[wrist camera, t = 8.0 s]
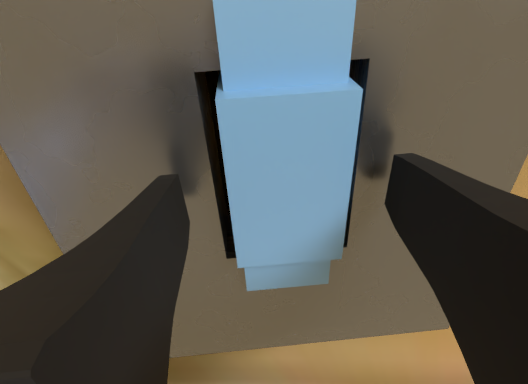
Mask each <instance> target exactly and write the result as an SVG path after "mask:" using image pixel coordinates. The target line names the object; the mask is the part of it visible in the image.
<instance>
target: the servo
mask: <svg viewBox="0 0 528 384" xmlns="http://www.w3.org/2000/svg"><path fill="white" fill-rule="evenodd" d="M213 8H214V17H215V25H216V33H217V42H218V50H219V59H220V67H221V70H220V71H219V77H218V84H217V91H216V97H215V103H216V110H217V118H218V125H219V132H220V140H221V147H222V155H223V162H224V169H225V177H226V184H227V192H228V199H229V207H230V214H231V221H232V229H233V236H234V244H235V251H236V258H237V266H238V268H244V270H245V278H246V287H247V291H255V290H266V289H277V288H287V287H298V286H309V285H319V284H328V282H329V272H330V262H331V260H335V259H342V253H343V245H344V237H345V229H346V221H347V213H348V205H349V197H350V189H351V181H352V173H353V166H354V158H355V150H356V142H357V134H358V126H359V118H360V110H361V102H362V94H363V89H362V88H361V87H360V86H359V85H358V84H357V83H356V82H355V81H353V80H352V79H351V78H350V77H349V70H350V60H351V50H352V40H353V30H354V20H355V10H356V0H213Z"/></svg>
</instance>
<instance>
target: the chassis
mask: <svg viewBox="0 0 528 384" xmlns="http://www.w3.org/2000/svg"><path fill="white" fill-rule="evenodd" d="M216 70H221V67H220V59H219V50H218V42H217V33H216V25H215V17H214V8H213V0H0V145H1V146H2V148H3V150H4V152H5V153H6V155H7V157H8V159H9V160H10V162H11V164H12V166H13V167H14V169H15V171H16V173H17V174H18V176H19V178H20V180H21V181H22V183H23V185H24V186H25V188H26V190H27V192H28V193H29V195H30V197H31V199H32V200H33V202H34V204H35V206H36V207H37V209H38V211H39V213H40V214H41V216H42V218H43V220H44V221H45V223H46V225H47V227H48V228H49V230H50V232H51V234H52V235H53V237H54V239H55V241H56V242H57V244H58V246H59V248H60V249H61V251H62V253H63V254H65V253H67V252H68V251H70V250H71V249H73V248H74V247H76V246H77V245H78V244H80V243H81V242H83V241H84V240H86V239H87V238H88V237H90V236H91V235H92V234H94V233H95V232H96V231H98V230H99V229H100V228H101V227H103V226H104V225H105V224H106V223H107V222H108V221H110V220H111V219H112V218H113V217H114V216H116V215H117V214H118V213H119V212H120V211H122V210H123V209H124V208H125V207H126V206H127V205H128V204H129V203H130V202H131V201H132V200H134V199H135V198H136V197H137V196H138V195H139V194H140V193H141V192H142V191H143V190H144V189H145V188H146V187H147V186H148V185H149V184H150V183H151V182H153V181H154V180H155V179H156V178H157V177H158V176H160V175H169V174H178V175H179V179H180V183H181V187H182V191H183V195H184V199H185V203H186V207H187V212H188V216H189V220H190V230H189V244H188V251H187V256H186V260H185V265H184V270H183V274H182V279H181V283H180V288H179V293H178V297H177V302H176V306H175V312H174V318H173V327H172V336H171V345H170V355H169V358H174V357H183V356H193V355H202V354H212V353H221V352H231V351H240V350H250V349H259V348H269V347H278V346H288V345H297V344H307V343H317V342H326V341H336V340H345V339H355V338H364V337H374V336H383V335H393V334H402V333H412V332H421V331H431V330H440V329H448V328H449V326H450V324H449V322H448V320H447V318H446V316H445V314H444V312H443V310H442V308H441V305H440V303H439V301H438V299H437V297H436V295H435V293H434V291H433V290H432V288H431V286H430V284H429V282H428V281H427V279H426V277H425V276H424V274H423V273H422V271H421V270H420V268H419V266H418V265H417V263H416V262H415V260H414V258H413V257H412V255H411V254H410V252H409V250H408V249H407V247H406V246H405V244H404V242H403V241H402V239H401V238H400V236H399V234H398V233H397V231H396V229H395V228H394V225H393V223H392V221H391V219H390V216H389V214H388V211H387V209H386V207H385V204H384V203H385V198H386V193H387V188H388V182H389V177H390V172H391V167H392V161H393V156H394V154H406V153H414V154H417V155H420V156H422V157H425V158H427V159H430V160H432V161H435V162H437V163H439V164H441V165H444V166H446V167H448V168H451V169H453V170H455V171H457V172H460V173H462V174H464V175H466V176H469V177H471V178H473V179H476V180H478V181H481V182H483V183H485V184H488V185H490V186H493V187H496V188H498V189H501V190H503V191H506V192H508V193H510V192H511V190H512V187H513V185H514V183H515V181H516V179H517V176H518V174H519V172H520V170H521V168H522V165H523V163H524V161H525V159H526V157H527V154H528V0H356V10H355V20H354V30H353V40H352V50H351V60H350V70H349V77H350V78H351V79H352V80H353V81H355V82H356V83H357V84H358V85H359V86H360V87H361V88H362V89H363V94H362V102H361V110H360V118H359V126H358V134H357V142H356V150H355V158H354V166H353V173H352V181H351V189H350V197H349V205H348V213H347V221H346V229H345V237H344V245H343V253H342V259H335V260H331V262H330V272H329V282H328V284H319V285H309V286H298V287H287V288H277V289H266V290H255V291H247V287H246V278H245V270H244V268H238V266H237V258H236V251H235V244H234V236H233V229H232V221H231V215H228V214H227V207H226V201H225V194H224V188H223V182H222V175H221V169H220V162H219V156H218V149H217V143H216V136H215V130H214V123H213V117H212V111H211V104H210V98H209V91H208V85H207V78H206V72H205V71H216Z"/></svg>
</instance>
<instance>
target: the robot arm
mask: <svg viewBox="0 0 528 384" xmlns="http://www.w3.org/2000/svg"><path fill="white" fill-rule="evenodd" d="M384 204H385V207H386V209H387V211H388V214H389V216H390V219H391V221H392V223H393V225H394V228H395V229H396V231H397V233H398V234H399V236H400V238H401V239H402V241H403V242H404V244H405V246H406V247H407V249H408V250H409V252H410V254H411V255H412V257H413V258H414V260H415V262H416V263H417V265H418V266H419V268H420V270H421V271H422V273H423V274H424V276H425V277H426V279H427V281H428V282H429V284H430V286H431V288H432V290H433V291H434V293H435V295H436V297H437V299H438V301H439V303H440V305H441V308H442V310H443V312H444V314H445V316H446V318H447V320H448V322H449V324H450V327H451V329H452V331H453V333H454V336H455V338H456V340H457V342H458V345H459V347H460V349H461V351H462V354H463V356H464V359H465V361H466V364H467V366H468V369H469V371H470V374H471V376H472V378H473V381H474V383H475V384H528V199H526V198H523V197H520V196H517V195H514V194H511V193H508V192H506V191H503V190H501V189H498V188H496V187H493V186H490V185H488V184H485V183H483V182H481V181H478V180H476V179H473V178H471V177H469V176H466V175H464V174H462V173H460V172H457V171H455V170H453V169H451V168H448V167H446V166H444V165H441V164H439V163H437V162H435V161H432V160H430V159H427V158H425V157H422V156H420V155H417V154H414V153H406V154H394V156H393V161H392V167H391V172H390V177H389V182H388V188H387V193H386V198H385V203H384ZM189 230H190V220H189V216H188V212H187V207H186V203H185V199H184V195H183V191H182V187H181V183H180V179H179V175H178V174H169V175H160V176H158V177H157V178H156V179H155V180H154V181H153V182H151V183H150V184H149V185H148V186H147V187H146V188H145V189H144V190H143V191H142V192H141V193H140V194H139V195H138V196H137V197H136V198H135V199H134V200H132V201H131V202H130V203H129V204H128V205H127V206H126V207H125V208H124V209H123V210H122V211H120V212H119V213H118V214H117V215H116V216H114V217H113V218H112V219H111V220H110V221H108V222H107V223H106V224H105V225H104V226H103V227H101V228H100V229H99V230H98V231H96V232H95V233H94V234H92V235H91V236H90V237H88V238H87V239H86V240H84V241H83V242H81V243H80V244H78V245H77V246H76V247H74V248H73V249H71V250H70V251H68V252H67V253H65V254H64V255H62V256H60V257H59V258H57V259H55V260H54V261H52V262H50V263H49V264H47V265H45V266H44V267H42V268H41V269H39V270H37V271H36V272H34V273H32V274H31V275H29V276H27V277H25V278H23V279H21V280H20V281H18V282H16V283H14V284H12V285H10V286H8V287H7V288H5V289H3V290H1V291H0V384H167V378H168V366H169V355H170V345H171V336H172V327H173V318H174V312H175V306H176V302H177V297H178V293H179V288H180V283H181V279H182V274H183V270H184V265H185V260H186V256H187V251H188V244H189Z"/></svg>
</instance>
